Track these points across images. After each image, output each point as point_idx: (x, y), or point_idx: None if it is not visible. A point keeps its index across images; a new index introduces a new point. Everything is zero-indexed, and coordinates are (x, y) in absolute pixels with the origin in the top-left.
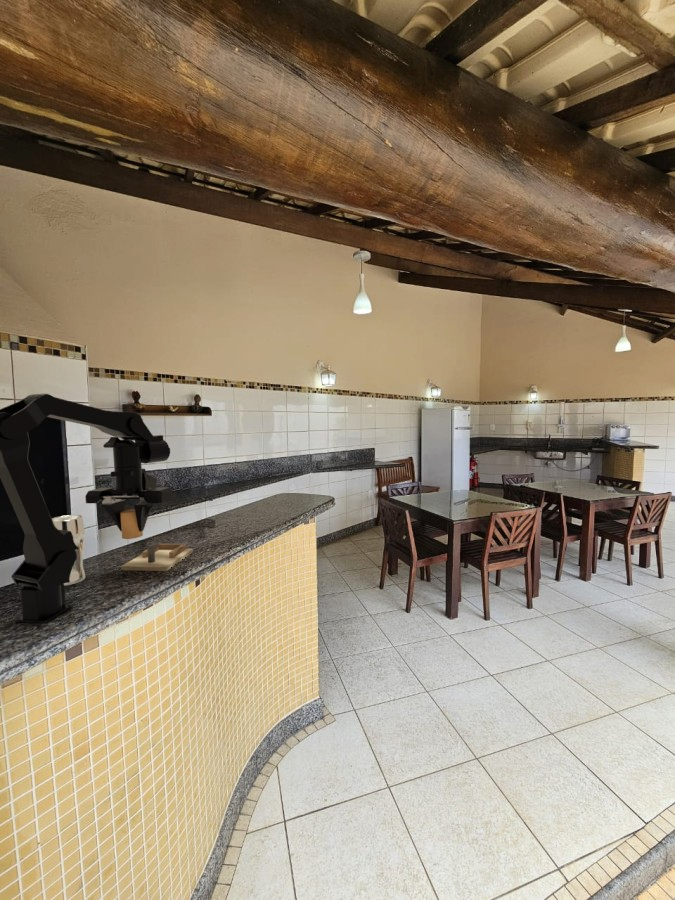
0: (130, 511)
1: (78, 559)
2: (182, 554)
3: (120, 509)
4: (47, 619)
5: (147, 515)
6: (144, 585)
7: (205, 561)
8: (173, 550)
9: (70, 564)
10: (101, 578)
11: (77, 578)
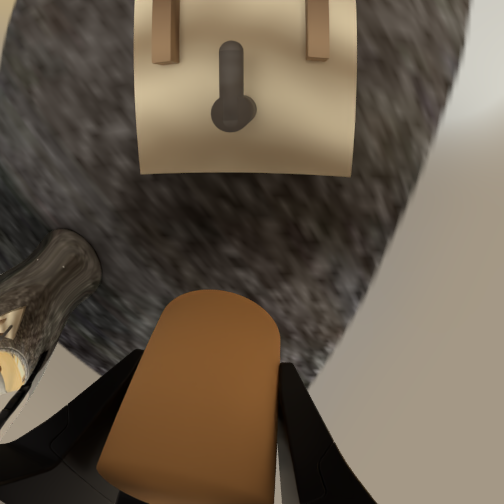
0: (181, 499)
1: (64, 310)
2: (345, 14)
3: (82, 484)
4: None
5: (336, 456)
6: (324, 294)
7: (456, 77)
8: (314, 26)
9: None
10: (138, 245)
11: (95, 283)
